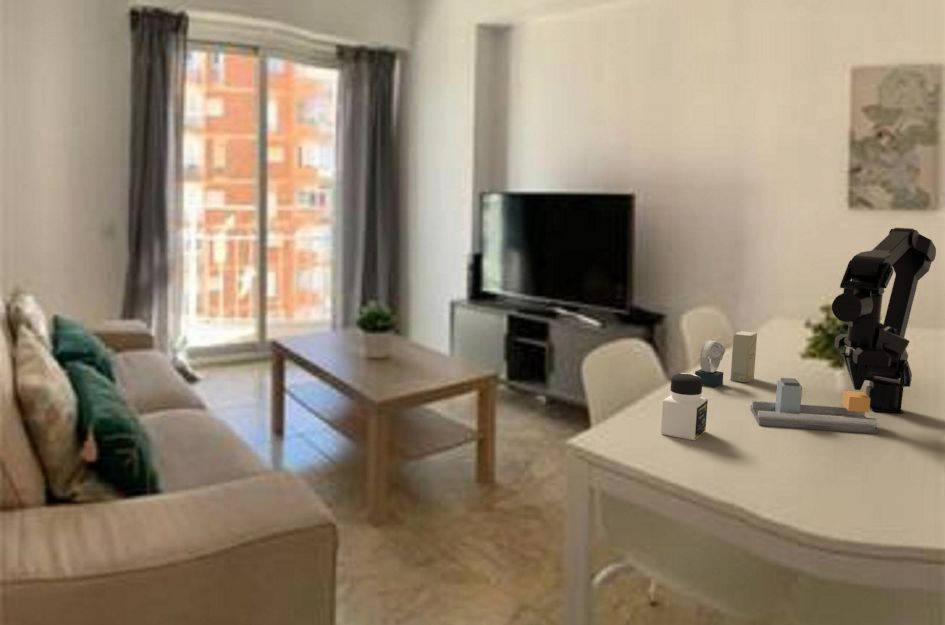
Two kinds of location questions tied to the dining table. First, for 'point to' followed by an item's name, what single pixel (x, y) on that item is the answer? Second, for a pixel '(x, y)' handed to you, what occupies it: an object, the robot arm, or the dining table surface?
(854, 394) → the plain orange cuboid
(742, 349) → the skincare box
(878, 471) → the dining table surface
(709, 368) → the watch
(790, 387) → the block
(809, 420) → the rail plate
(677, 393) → the medicine bottle
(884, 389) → the robot arm
